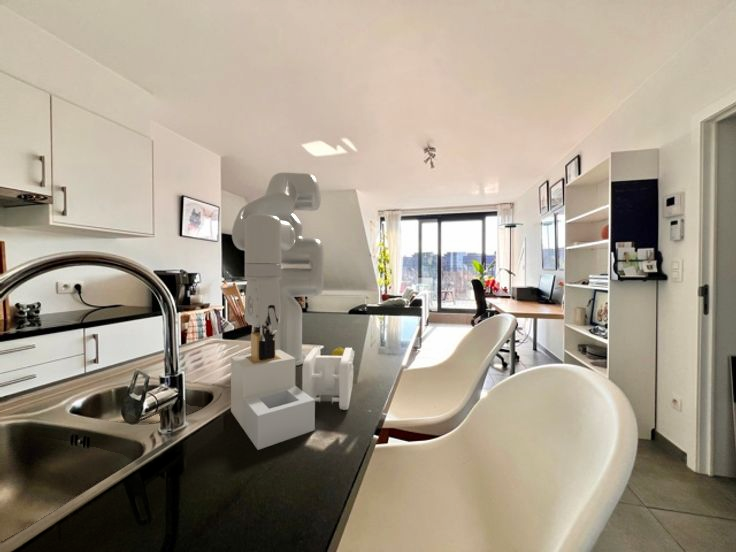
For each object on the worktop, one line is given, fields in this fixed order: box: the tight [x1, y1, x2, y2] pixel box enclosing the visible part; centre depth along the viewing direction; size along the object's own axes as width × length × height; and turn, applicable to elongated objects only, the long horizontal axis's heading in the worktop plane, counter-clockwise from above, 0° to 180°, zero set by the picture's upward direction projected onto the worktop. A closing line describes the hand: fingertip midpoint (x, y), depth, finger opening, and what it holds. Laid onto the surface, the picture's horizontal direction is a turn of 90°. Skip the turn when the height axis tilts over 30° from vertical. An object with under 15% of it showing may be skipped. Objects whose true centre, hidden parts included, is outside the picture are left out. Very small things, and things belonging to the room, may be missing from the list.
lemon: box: [330, 346, 345, 356], centre depth 93 cm, size 6×6×8 cm
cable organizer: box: [301, 346, 355, 411], centre depth 74 cm, size 15×11×12 cm
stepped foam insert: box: [230, 350, 316, 451], centre depth 64 cm, size 18×11×12 cm, turn 38°
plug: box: [250, 332, 276, 364], centre depth 67 cm, size 4×4×8 cm
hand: (263, 355), depth 67 cm, fingers closed on plug, 4 cm apart
